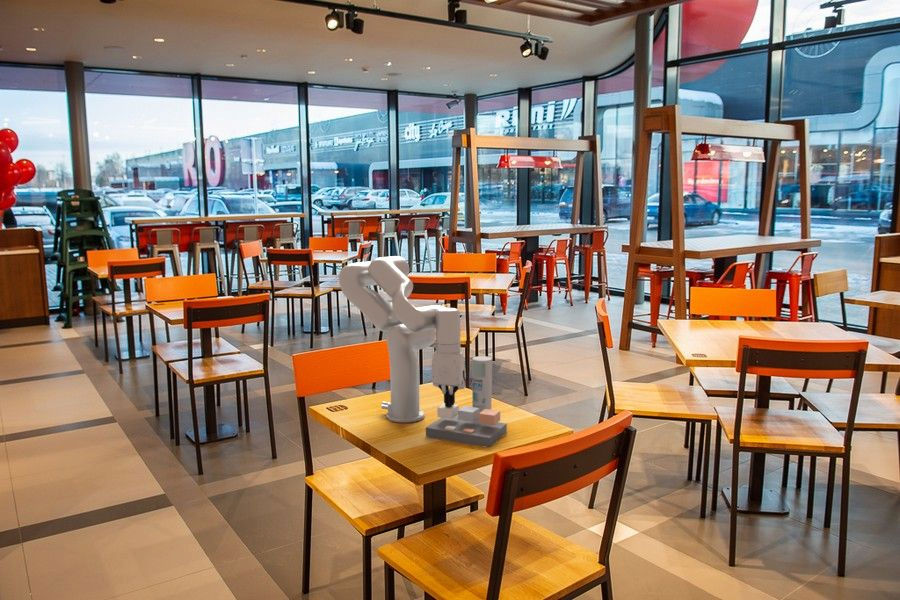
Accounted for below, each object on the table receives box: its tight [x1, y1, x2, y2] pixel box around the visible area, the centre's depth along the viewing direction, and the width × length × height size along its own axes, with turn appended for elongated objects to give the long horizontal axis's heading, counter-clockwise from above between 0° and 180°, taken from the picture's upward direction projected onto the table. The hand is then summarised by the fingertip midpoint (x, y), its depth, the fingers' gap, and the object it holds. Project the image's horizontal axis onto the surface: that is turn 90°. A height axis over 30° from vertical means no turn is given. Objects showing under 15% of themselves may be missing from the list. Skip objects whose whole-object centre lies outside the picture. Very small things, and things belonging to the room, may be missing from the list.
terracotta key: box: [479, 409, 501, 425], centre depth 210 cm, size 5×5×3 cm
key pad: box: [425, 415, 508, 448], centre depth 212 cm, size 21×14×4 cm, turn 64°
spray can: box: [471, 355, 493, 419], centre depth 228 cm, size 6×6×20 cm
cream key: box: [437, 402, 460, 419], centre depth 216 cm, size 5×5×3 cm
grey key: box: [457, 405, 479, 422], centre depth 213 cm, size 5×5×3 cm
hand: (449, 405), depth 215 cm, fingers closed
